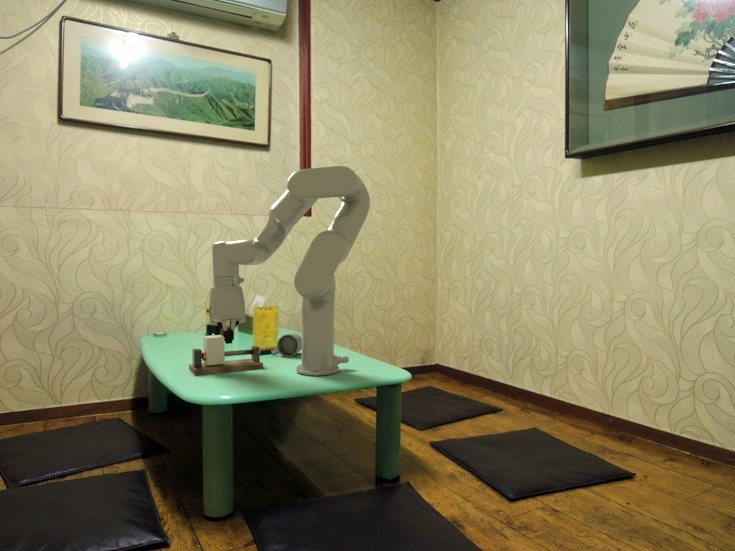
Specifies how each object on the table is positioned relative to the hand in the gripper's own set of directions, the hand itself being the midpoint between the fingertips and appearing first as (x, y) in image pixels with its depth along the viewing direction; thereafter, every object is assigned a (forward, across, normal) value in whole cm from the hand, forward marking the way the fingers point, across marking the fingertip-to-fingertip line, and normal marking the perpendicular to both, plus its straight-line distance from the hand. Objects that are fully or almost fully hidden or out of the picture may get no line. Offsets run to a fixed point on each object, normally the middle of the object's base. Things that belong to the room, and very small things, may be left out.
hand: (228, 343), depth 153 cm
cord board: (+8, +1, 0) cm, 8 cm away
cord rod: (+6, +1, 0) cm, 6 cm away
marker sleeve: (+5, +4, 0) cm, 7 cm away
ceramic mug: (+8, -23, -14) cm, 28 cm away
